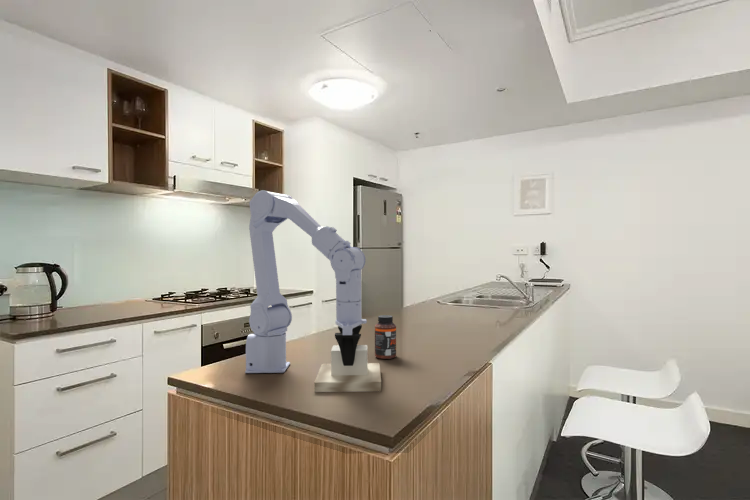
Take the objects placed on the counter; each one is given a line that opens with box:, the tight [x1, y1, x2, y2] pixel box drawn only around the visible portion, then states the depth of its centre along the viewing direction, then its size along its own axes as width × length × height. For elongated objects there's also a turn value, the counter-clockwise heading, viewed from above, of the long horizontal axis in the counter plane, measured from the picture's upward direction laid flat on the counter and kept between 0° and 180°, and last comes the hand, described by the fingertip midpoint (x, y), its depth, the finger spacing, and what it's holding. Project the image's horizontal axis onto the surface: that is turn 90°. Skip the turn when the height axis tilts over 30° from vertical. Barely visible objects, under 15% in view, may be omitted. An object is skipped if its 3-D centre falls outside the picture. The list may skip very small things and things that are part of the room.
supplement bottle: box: [374, 314, 397, 360], centre depth 113 cm, size 6×6×11 cm
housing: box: [330, 344, 369, 376], centre depth 93 cm, size 8×5×6 cm, turn 91°
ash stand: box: [313, 362, 382, 393], centre depth 93 cm, size 14×14×2 cm
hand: (349, 360), depth 93 cm, fingers open, 7 cm apart
